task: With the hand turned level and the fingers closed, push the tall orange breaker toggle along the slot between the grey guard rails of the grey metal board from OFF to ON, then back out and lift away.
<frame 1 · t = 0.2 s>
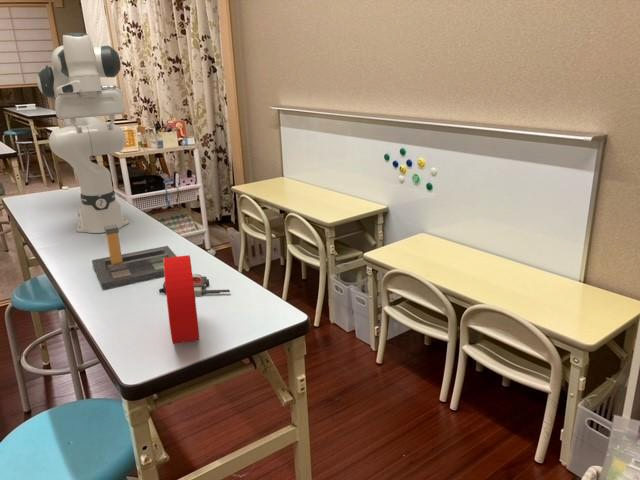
hand: (95, 131, 163), 40 cm above the table, tool pointing down, fingers open, 8 cm apart
grey metal board: (138, 268, 159), on the table
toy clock: (185, 337, 122), on the table
breaker toggle: (114, 246, 153), point 9 cm above the table, slide at 0.0 cm
walkie-talkie: (196, 291, 145), on the table
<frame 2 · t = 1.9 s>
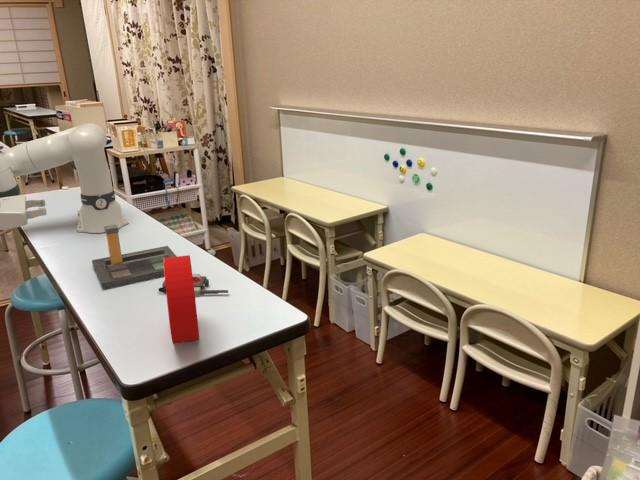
hand: (45, 206, 141), 24 cm above the table, tool horizontal, fingers open, 8 cm apart
nothing on the table moved.
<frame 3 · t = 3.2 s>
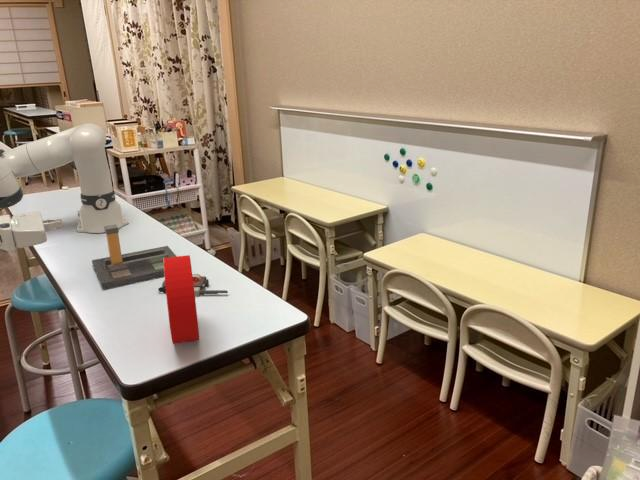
hand: (62, 222, 143), 19 cm above the table, tool horizontal, fingers closed
nothing on the table moved.
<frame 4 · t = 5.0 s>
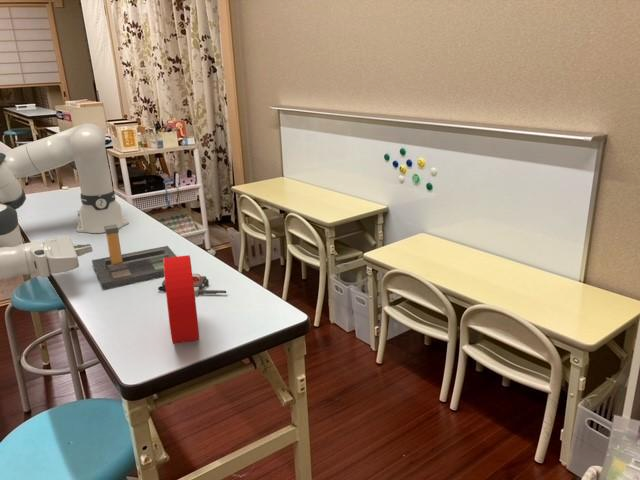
hand: (91, 247, 149), 10 cm above the table, tool horizontal, fingers closed
nothing on the table moved.
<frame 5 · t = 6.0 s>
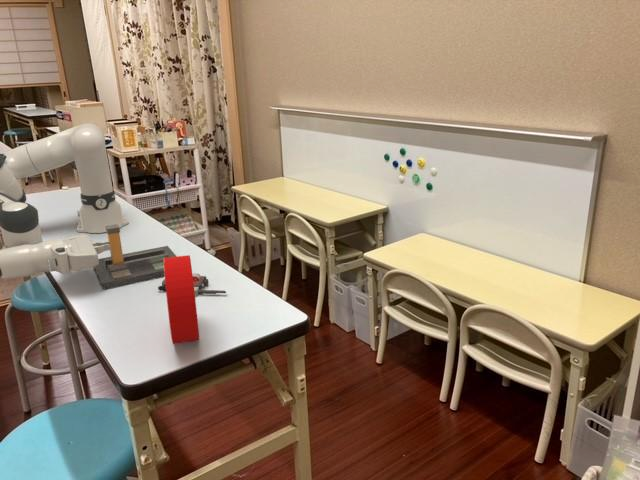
hand: (110, 245, 151), 10 cm above the table, tool horizontal, fingers closed, pressing on breaker toggle
breaker toggle: (115, 246, 153), point 9 cm above the table, slide at 0.4 cm, touching gripper
everything else where it was.
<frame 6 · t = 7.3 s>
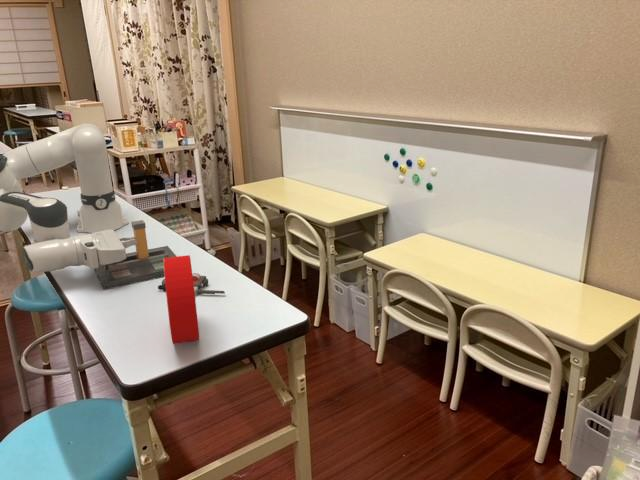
hand: (135, 240, 155), 10 cm above the table, tool horizontal, fingers closed, pressing on breaker toggle
breaker toggle: (140, 242, 157), point 9 cm above the table, slide at 7.9 cm, touching gripper
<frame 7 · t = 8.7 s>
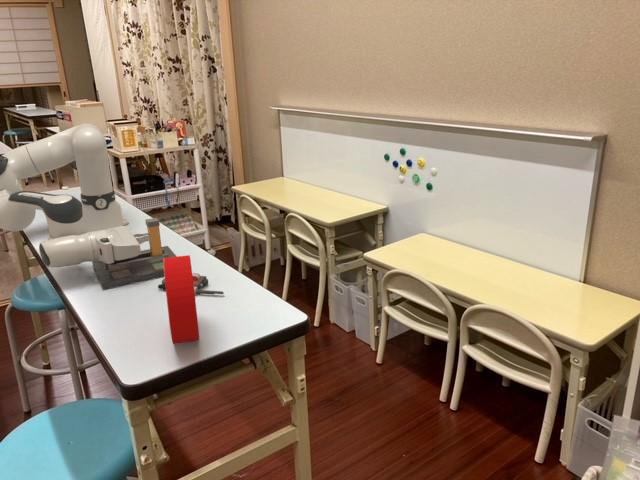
hand: (149, 236, 157), 10 cm above the table, tool horizontal, fingers closed, pressing on breaker toggle
breaker toggle: (154, 239, 159), point 9 cm above the table, slide at 12.1 cm, touching gripper
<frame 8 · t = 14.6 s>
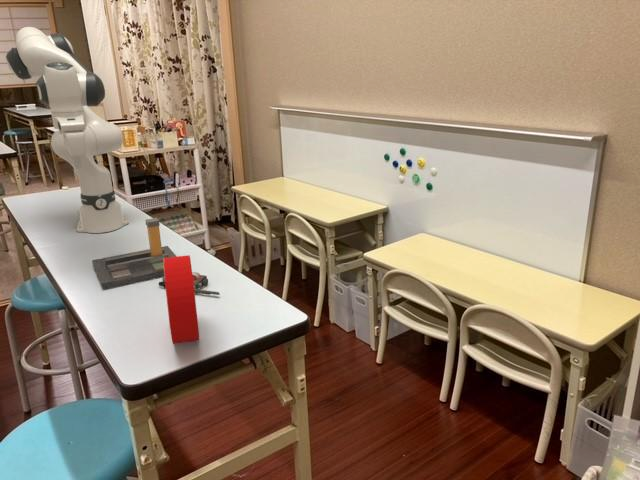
hand: (77, 167, 153), 31 cm above the table, tool pointing down, fingers closed
breaker toggle: (154, 239, 159), point 9 cm above the table, slide at 12.1 cm
at the end: breaker toggle slide at 12.1 cm; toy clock moved 0.2 cm from its start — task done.
